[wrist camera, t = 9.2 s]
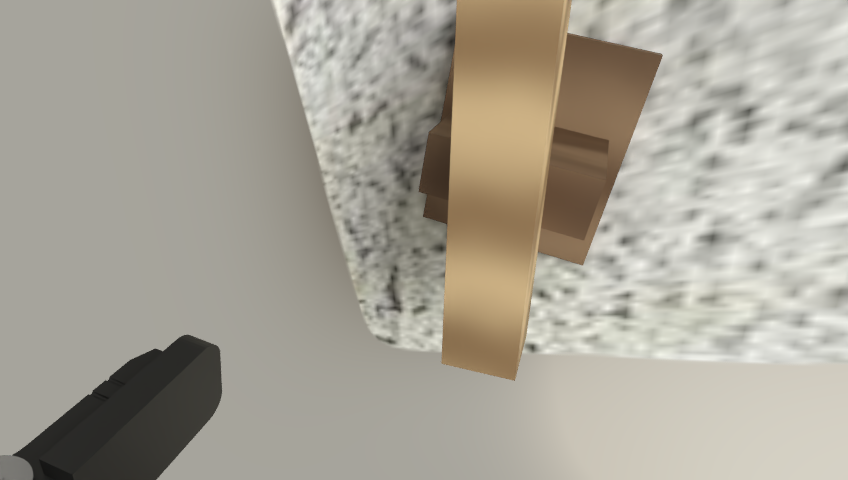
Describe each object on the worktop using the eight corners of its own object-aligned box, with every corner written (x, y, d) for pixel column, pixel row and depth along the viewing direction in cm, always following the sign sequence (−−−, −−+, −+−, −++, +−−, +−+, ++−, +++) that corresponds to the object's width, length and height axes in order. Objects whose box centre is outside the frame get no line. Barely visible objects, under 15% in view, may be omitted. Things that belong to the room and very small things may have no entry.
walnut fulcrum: (464, 10, 27) (424, 22, 22) (661, 53, 26) (672, 79, 20) (426, 212, 34) (387, 262, 28) (583, 260, 32) (575, 324, 26)
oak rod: (480, -12, 21) (457, -7, 18) (572, -9, 20) (564, -3, 17) (460, 321, 28) (441, 363, 25) (526, 335, 27) (514, 380, 24)
